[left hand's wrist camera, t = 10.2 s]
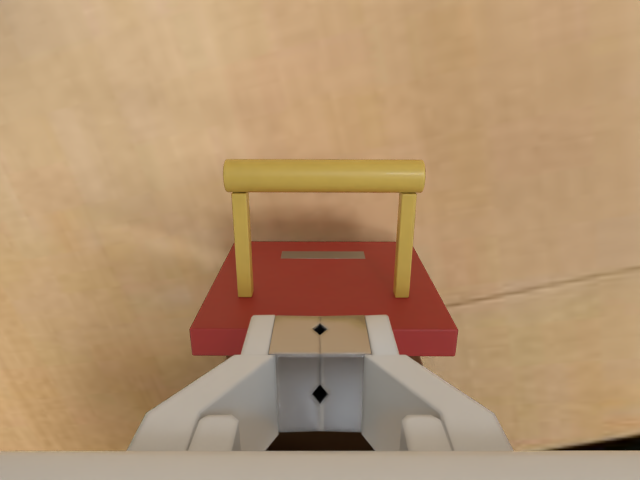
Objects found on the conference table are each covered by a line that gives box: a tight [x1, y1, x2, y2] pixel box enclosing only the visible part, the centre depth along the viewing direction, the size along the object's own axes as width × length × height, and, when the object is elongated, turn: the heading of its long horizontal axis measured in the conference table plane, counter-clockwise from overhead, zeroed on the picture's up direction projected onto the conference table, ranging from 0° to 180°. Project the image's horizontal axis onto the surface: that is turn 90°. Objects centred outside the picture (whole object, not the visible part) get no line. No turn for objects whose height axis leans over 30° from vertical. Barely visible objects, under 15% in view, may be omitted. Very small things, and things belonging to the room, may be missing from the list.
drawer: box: [190, 159, 458, 451], centre depth 23 cm, size 22×10×10 cm, turn 0°
